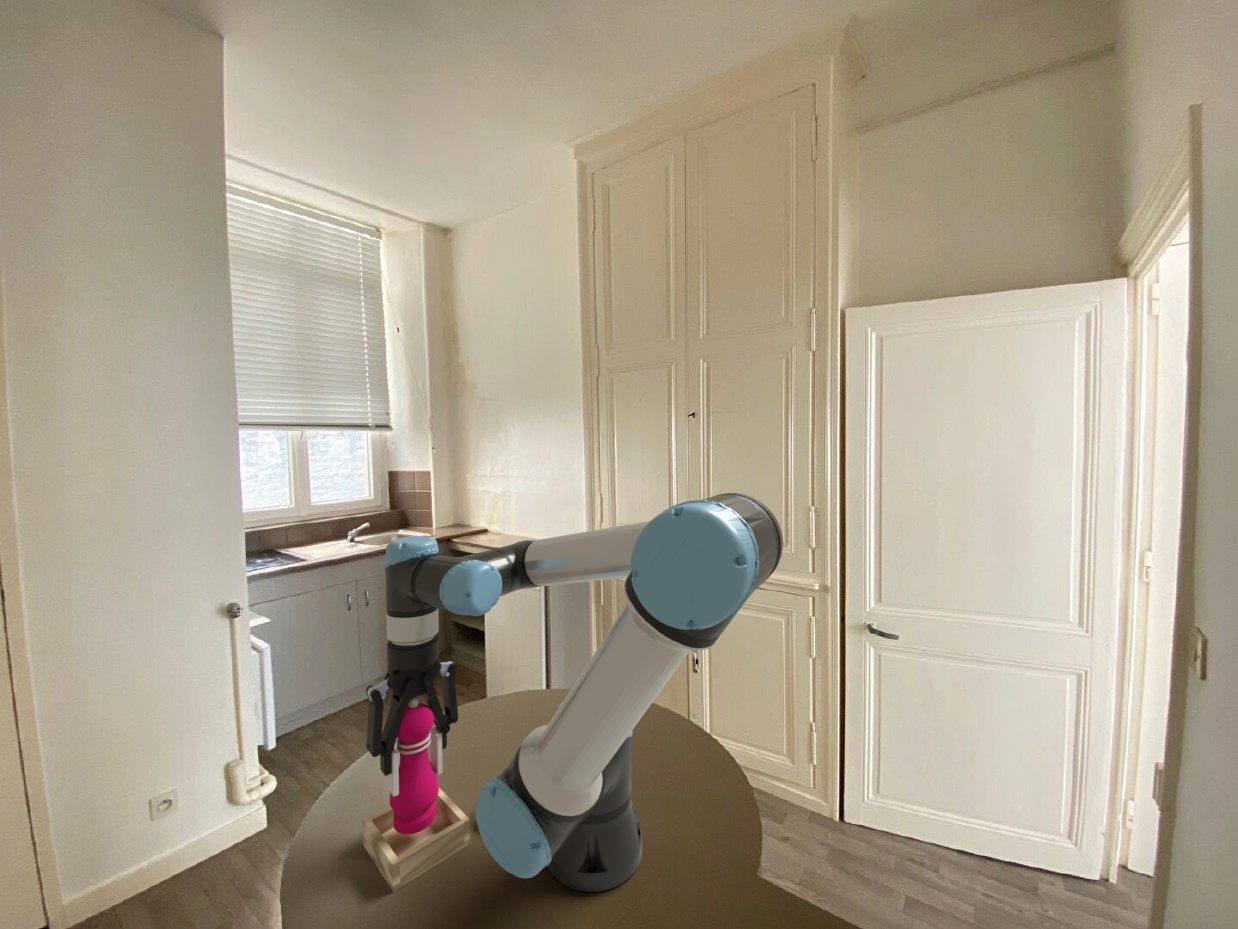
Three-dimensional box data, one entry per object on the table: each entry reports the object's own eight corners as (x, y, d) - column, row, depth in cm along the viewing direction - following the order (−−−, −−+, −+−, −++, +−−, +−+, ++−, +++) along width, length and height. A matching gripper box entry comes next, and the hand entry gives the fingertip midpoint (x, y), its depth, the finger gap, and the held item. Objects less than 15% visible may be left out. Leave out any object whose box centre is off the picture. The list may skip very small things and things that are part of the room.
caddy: (470, 843, 79) (469, 819, 79) (393, 892, 71) (392, 865, 71) (435, 805, 88) (435, 783, 87) (362, 845, 79) (362, 820, 79)
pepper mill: (422, 841, 75) (420, 711, 74) (379, 833, 76) (377, 705, 75) (447, 807, 82) (446, 687, 81) (408, 800, 83) (406, 683, 82)
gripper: (458, 615, 87) (459, 744, 88) (337, 647, 74) (341, 799, 74) (480, 626, 82) (482, 763, 83) (355, 663, 68) (358, 826, 69)
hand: (415, 780), depth 79 cm, fingers closed on pepper mill, 6 cm apart
